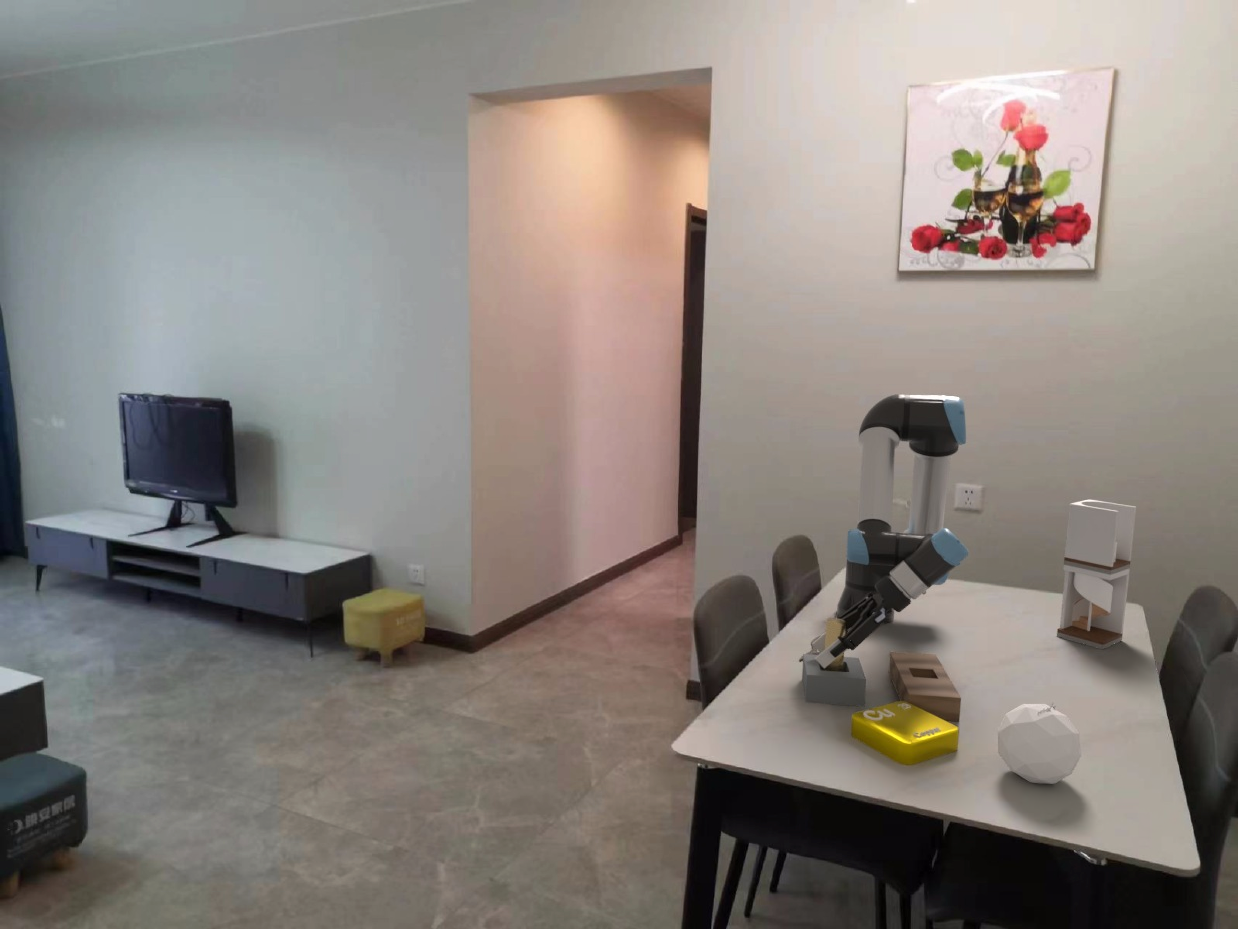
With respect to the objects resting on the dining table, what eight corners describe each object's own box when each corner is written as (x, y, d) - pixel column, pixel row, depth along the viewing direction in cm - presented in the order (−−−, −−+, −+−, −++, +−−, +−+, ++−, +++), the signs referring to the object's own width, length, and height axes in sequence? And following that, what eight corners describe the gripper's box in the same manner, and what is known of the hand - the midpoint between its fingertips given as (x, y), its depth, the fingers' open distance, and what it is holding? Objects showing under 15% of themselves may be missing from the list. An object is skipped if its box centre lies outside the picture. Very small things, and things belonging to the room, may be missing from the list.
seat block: (802, 679, 195) (803, 654, 194) (857, 683, 194) (858, 657, 193) (805, 702, 184) (806, 674, 183) (864, 706, 182) (866, 679, 181)
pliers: (854, 640, 220) (840, 667, 202) (854, 643, 220) (839, 671, 202) (815, 634, 224) (798, 660, 206) (815, 637, 224) (798, 663, 206)
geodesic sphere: (1015, 716, 165) (1006, 673, 157) (1096, 739, 156) (1090, 695, 148) (991, 782, 158) (980, 740, 150) (1074, 810, 149) (1066, 767, 141)
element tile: (905, 769, 157) (906, 743, 156) (845, 734, 170) (847, 711, 169) (962, 750, 164) (964, 726, 163) (901, 719, 177) (902, 696, 176)
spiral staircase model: (1056, 636, 226) (1069, 503, 221) (1076, 628, 233) (1089, 499, 227) (1102, 649, 217) (1117, 511, 212) (1121, 641, 224) (1136, 506, 218)
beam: (888, 672, 200) (890, 651, 200) (934, 675, 199) (935, 654, 198) (907, 717, 177) (909, 694, 176) (959, 721, 175) (961, 698, 175)
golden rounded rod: (821, 688, 191) (825, 617, 188) (840, 689, 190) (844, 618, 188) (823, 695, 187) (827, 623, 184) (842, 697, 186) (846, 625, 184)
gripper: (922, 616, 173) (834, 687, 178) (903, 586, 193) (825, 650, 198) (896, 588, 173) (809, 660, 178) (880, 561, 193) (803, 626, 198)
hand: (818, 655), depth 188 cm, fingers open, 8 cm apart
